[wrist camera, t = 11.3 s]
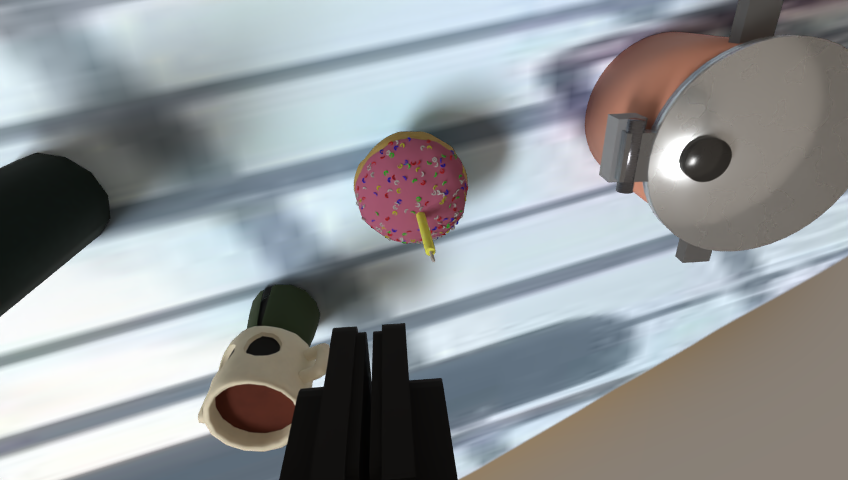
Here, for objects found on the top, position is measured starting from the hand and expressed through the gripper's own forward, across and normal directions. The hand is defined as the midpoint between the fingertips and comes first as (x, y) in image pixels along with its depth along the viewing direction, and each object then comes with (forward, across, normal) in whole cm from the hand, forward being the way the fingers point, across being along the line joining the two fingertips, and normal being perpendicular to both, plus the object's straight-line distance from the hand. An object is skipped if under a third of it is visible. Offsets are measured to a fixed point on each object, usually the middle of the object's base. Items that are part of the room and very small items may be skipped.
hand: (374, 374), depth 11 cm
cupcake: (+29, -2, +5) cm, 30 cm away
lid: (+18, -22, +1) cm, 28 cm away
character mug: (+29, +10, +18) cm, 36 cm away
